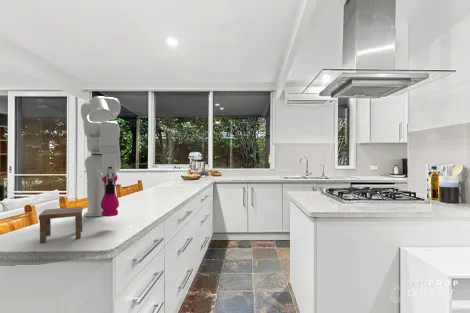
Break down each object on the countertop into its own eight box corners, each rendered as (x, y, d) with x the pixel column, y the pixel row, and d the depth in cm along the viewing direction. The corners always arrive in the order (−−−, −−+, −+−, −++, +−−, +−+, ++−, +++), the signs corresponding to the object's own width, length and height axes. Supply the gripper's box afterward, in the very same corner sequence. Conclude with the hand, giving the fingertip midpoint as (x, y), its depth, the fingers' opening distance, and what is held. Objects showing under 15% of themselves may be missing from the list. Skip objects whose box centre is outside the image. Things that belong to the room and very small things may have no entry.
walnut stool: (45, 234, 111) (45, 209, 111) (82, 230, 116) (82, 206, 117) (39, 243, 99) (38, 215, 99) (81, 238, 105) (80, 211, 105)
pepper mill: (112, 217, 115) (111, 168, 115) (96, 216, 117) (96, 168, 116) (122, 213, 123) (122, 167, 122) (107, 212, 124) (107, 167, 124)
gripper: (99, 150, 125) (99, 191, 125) (99, 150, 110) (100, 196, 110) (117, 150, 128) (118, 190, 129) (120, 150, 113) (120, 195, 113)
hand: (109, 192), depth 119 cm, fingers closed on pepper mill, 5 cm apart
